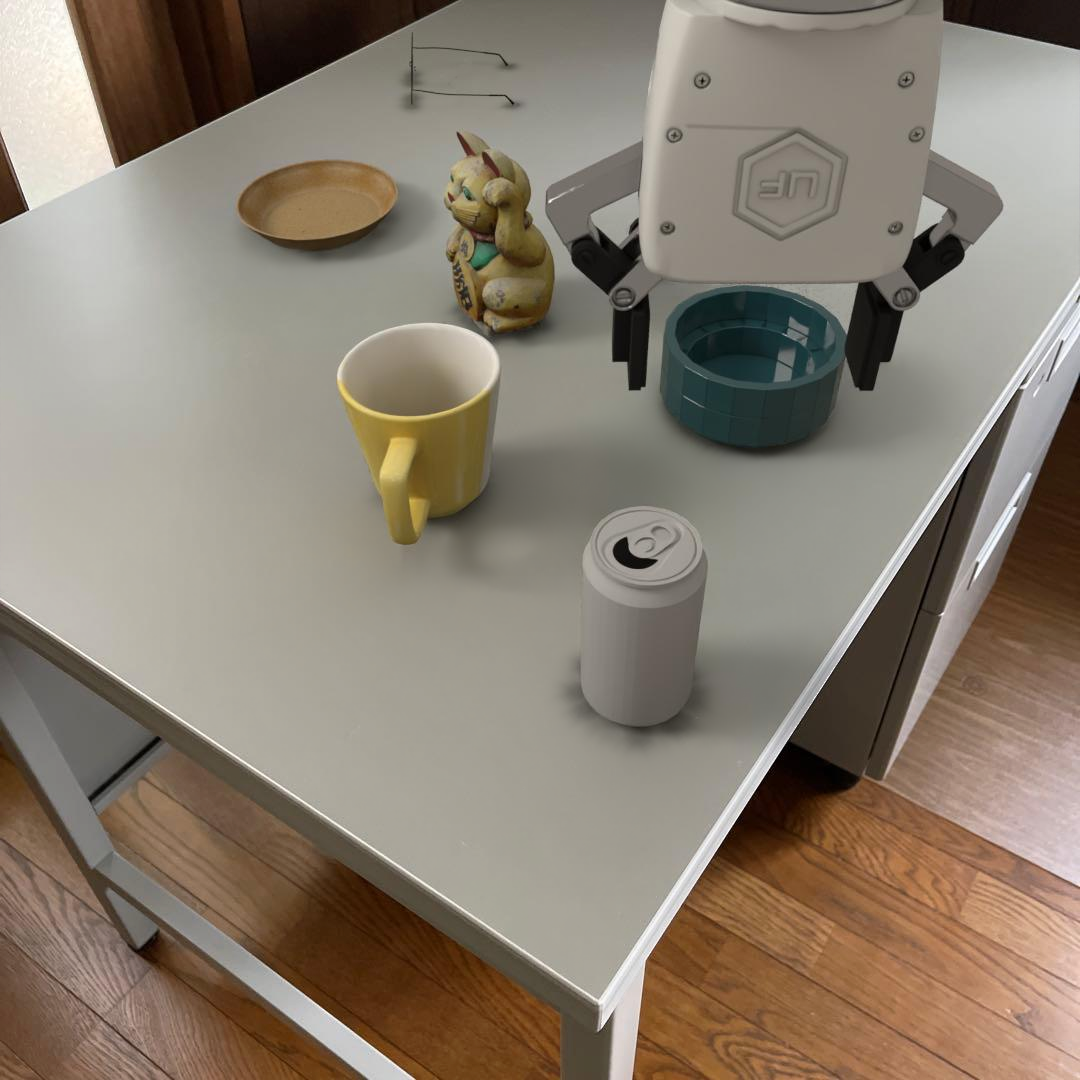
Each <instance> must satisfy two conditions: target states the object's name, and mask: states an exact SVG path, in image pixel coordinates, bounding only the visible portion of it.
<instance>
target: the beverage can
mask: <svg viewBox="0 0 1080 1080" xmlns="http://www.w3.org/2000/svg"><path fill="white" fill-rule="evenodd" d="M708 568H709V564H708V558H707V554H706V552H705V549H704V548H703V540H702V538H701V535H700V533H699V532H698V529H697V528H696V527H695V525H693V524H692V523H691V522H690V521H689V520H688V519H687V518H685V517H683V515H680V514H679V513H676V512H674V511H672V510H669V509H666V508H662V507H657V506H649V505H641V506H640V505H638V506H630V507H629V506H628V507H625V508H622V509H618V510H616V511H613V512H611V513H610V514H607V516H605V517H603V519H601V520H600V521H599V522H598V524H596V526H595V527H594V529H593V531H592V533H591V537H590V539H589V541H588V542H587V544H586V546H585V548H584V551H583V554H582V574H581V576H582V578H581V583H582V584H581V627H580V628H581V629H580V630H581V631H580V634H581V635H580V678H579V680H580V681H579V682H580V686H581V687H580V688H581V690H582V693H583V696H584V698H585V700H586V701H587V703H588V705H589V706H590V707H591V708H592V709H593V710H594V711H595V712H596V713H598V714H599V715H600V716H602V717H603V718H605V719H607V720H609V721H610V722H613V723H616V724H619V725H622V726H629V727H638V728H639V727H650V726H654V725H658V724H661V723H664V722H667V721H669V720H670V719H672V718H673V717H675V716H676V715H678V713H680V711H681V710H682V709H683V708H684V707H685V706H686V704H687V702H688V700H689V698H690V696H691V693H692V688H693V679H694V673H695V667H696V666H695V665H696V657H697V650H698V644H699V643H698V642H699V636H700V630H701V629H700V628H701V621H702V613H703V607H704V598H705V593H706V592H705V591H706V585H707V577H708V570H709V569H708Z"/></svg>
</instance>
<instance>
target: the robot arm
mask: <svg viewBox="0 0 1080 1080" xmlns="http://www.w3.org/2000/svg"><path fill="white" fill-rule="evenodd" d="M943 34H944V0H665V3H664V8H663V12H662V16H661V21H660V25H659V29H658V33H657V38H656V45H655V51H654V56H653V60H652V66H651V71H650V75H649V82H648V89H647V96H646V104H645V111H644V118H643V119H644V120H643V128H642V137H641V140H640V141H638V142H636V143H634V144H632V145H630V146H628V147H625V148H624V149H622V150H619V151H617V152H616V153H614V154H611V155H609V156H608V157H605V158H604V159H601V160H599V161H597V162H595V163H592V164H591V165H589V166H587V167H584V168H583V169H581V170H578V171H577V172H575V173H573V174H570V175H567V176H566V177H564V178H563V179H560V180H558V181H556V182H554V183H552V184H551V185H549V186H548V188H547V189H546V191H545V202H544V203H545V205H544V212H545V215H546V217H547V219H548V220H549V222H550V224H551V225H552V227H553V229H554V231H555V232H556V234H557V236H558V238H559V240H560V242H561V243H562V245H563V246H565V248H566V250H567V251H568V254H569V255H570V260H571V263H572V265H573V266H574V267H575V268H576V269H577V270H578V271H579V272H580V273H581V274H583V275H584V276H585V277H586V278H587V279H589V281H590V282H592V283H593V284H594V285H595V286H597V287H598V289H600V291H602V292H603V293H604V294H605V295H606V296H608V302H609V305H610V306H611V307H612V324H611V325H612V327H611V329H612V330H611V361H612V363H626V368H627V369H626V370H627V382H628V384H627V385H628V386H627V387H628V391H629V392H630V391H638V392H639V391H642V388H646V386H647V375H648V373H647V372H648V358H649V343H650V327H651V308H650V307H651V306H650V295H649V293H650V292H652V290H653V289H655V288H656V286H658V285H659V284H660V283H661V282H662V281H663V280H667V281H670V282H675V283H682V284H699V285H701V284H702V285H708V284H709V285H839V284H841V285H842V284H845V285H847V284H857V288H856V291H855V297H854V301H853V306H852V310H851V315H850V318H849V319H850V320H849V324H848V329H847V332H846V334H847V337H846V342H845V348H844V351H845V356H846V359H845V360H846V362H847V366H848V369H849V372H850V376H851V379H852V382H853V386H854V388H855V389H858V391H859V392H873V391H874V389H875V386H876V382H877V377H878V374H879V371H880V366H881V363H890V362H891V361H892V358H893V355H894V351H895V347H896V343H897V340H898V336H899V333H900V332H899V331H900V328H901V324H902V321H903V317H904V313H905V311H909V310H910V309H913V308H914V307H915V306H917V304H918V302H920V299H921V293H922V292H923V291H924V290H926V289H928V288H929V287H930V286H931V285H934V283H936V282H937V281H939V280H940V279H941V278H943V277H945V276H947V274H949V273H950V272H952V271H954V270H955V269H956V268H958V267H959V266H960V265H961V264H962V263H963V261H964V259H965V256H966V251H967V250H968V249H969V248H970V246H974V245H975V243H977V241H978V240H979V239H980V238H981V237H982V236H983V235H984V233H985V232H986V231H988V229H989V228H990V226H991V225H992V224H993V223H994V222H995V221H996V220H997V218H998V217H999V216H1000V215H1001V214H1002V212H1003V210H1004V202H1003V200H1002V198H1001V196H1000V194H999V193H998V191H997V189H996V188H995V187H996V186H994V184H993V183H991V182H990V181H988V180H986V179H985V178H982V177H981V176H979V175H977V174H975V173H974V172H972V171H970V170H968V169H966V168H965V167H962V166H960V165H959V164H957V163H956V162H955V161H954V162H953V161H952V160H950V159H949V158H946V157H945V156H943V155H942V154H940V153H938V152H936V151H934V150H932V149H931V145H932V139H933V138H932V137H933V132H934V123H935V115H936V109H937V102H938V101H937V100H938V92H939V83H940V75H941V64H942V63H941V61H942V49H943V36H944V35H943ZM635 193H637V197H638V199H637V200H638V217H639V226H638V227H637V228H636V229H635V230H634V231H633V232H632V233H631V234H630V235H629V234H628V235H627V236H626V238H624V239H623V241H622V242H621V243H620V244H619V245H617V244H616V242H614V241H613V240H612V239H611V238H609V236H608V235H607V234H605V233H604V232H603V231H602V230H601V229H600V228H599V227H598V226H597V225H595V224H594V222H593V219H592V216H591V215H592V214H593V213H595V212H596V211H599V210H601V209H603V208H605V207H608V206H609V205H611V204H614V203H615V202H618V201H620V200H622V199H624V198H626V197H629V196H630V195H633V194H635ZM923 196H924V197H925V198H927V199H929V200H931V201H933V202H935V203H936V204H939V205H941V206H942V207H944V208H946V211H945V212H944V213H943V214H942V216H941V220H940V221H939V222H937V223H934V224H932V225H931V226H929V227H927V228H926V229H925V230H924V231H922V232H921V233H920V234H918V235H917V236H915V234H916V231H917V226H918V220H919V216H920V212H921V211H920V210H921V207H922V201H923Z"/></svg>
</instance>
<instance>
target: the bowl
mask: <svg viewBox="0 0 1080 1080" xmlns="http://www.w3.org/2000/svg"><path fill="white" fill-rule="evenodd" d="M846 337H847V332H846V331H845V328H844V327H843V325H842V324H841V322H840V320H839V318H838V317H837V316H835V315H834V314H833V313H832V312H830V311H829V310H828V309H827V308H826V307H824V305H822V304H820V303H818V302H817V301H814V300H812V299H810V298H808V297H806V296H803V295H801V294H800V293H799V294H798V293H796V292H793V291H788V290H785V289H781V288H777V287H773V286H763V285H752V284H740V285H733V286H732V285H731V286H720V287H716V288H713V289H709V290H706V291H702V292H699V293H696V294H694V295H692V296H690V297H689V298H687V299H685V300H684V301H682V302H680V303H679V304H677V305H676V306H675V308H673V310H672V311H671V312H670V314H669V315H668V317H666V319H665V325H664V331H663V337H662V338H663V339H662V353H661V365H660V381H659V393H660V396H661V399H662V401H663V404H664V407H665V408H666V409H667V411H669V413H670V414H671V415H672V416H673V417H674V418H675V420H677V421H678V423H680V424H681V425H683V426H684V427H686V428H688V429H690V430H691V431H693V432H695V433H696V434H698V435H699V436H701V437H704V438H706V439H708V440H710V441H713V442H716V443H719V444H722V445H725V446H726V445H727V446H731V447H737V448H748V449H757V448H758V449H762V448H771V447H777V446H780V445H786V444H789V443H791V442H795V441H797V440H800V439H804V438H806V437H808V436H811V435H812V434H814V433H815V432H816V431H818V430H819V429H820V428H821V427H822V426H824V425H825V424H826V423H827V422H828V421H829V419H830V417H831V415H832V414H833V412H834V409H836V404H837V401H838V396H839V390H840V387H841V386H840V385H841V382H842V377H843V372H844V369H845V364H846V360H847V359H846V356H845V351H844V348H845V342H846Z"/></svg>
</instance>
